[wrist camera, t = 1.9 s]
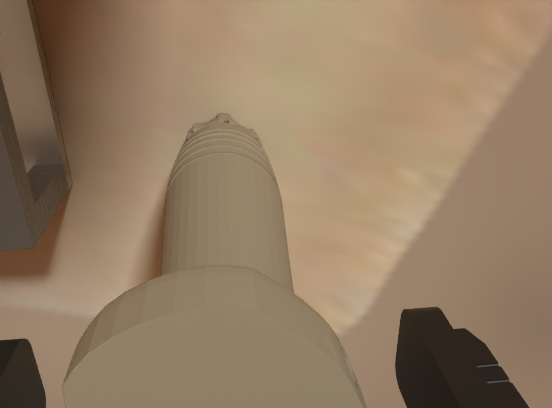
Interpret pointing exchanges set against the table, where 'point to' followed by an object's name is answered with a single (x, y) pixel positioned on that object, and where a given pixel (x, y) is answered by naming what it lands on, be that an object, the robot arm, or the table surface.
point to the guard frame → (27, 132)
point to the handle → (215, 301)
